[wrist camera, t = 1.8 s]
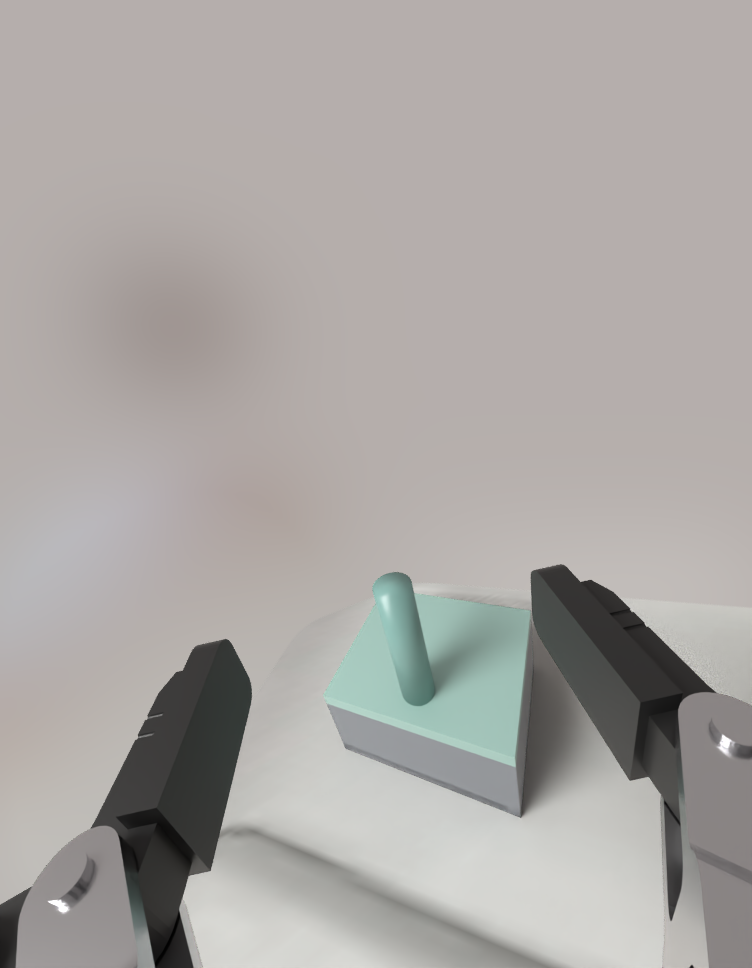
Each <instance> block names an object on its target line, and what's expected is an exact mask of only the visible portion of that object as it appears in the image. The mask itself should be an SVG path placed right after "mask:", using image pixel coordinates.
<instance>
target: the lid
mask: <svg viewBox="0 0 752 968" xmlns="http://www.w3.org/2000/svg"><path fill="white" fill-rule="evenodd" d="M373 594H374V597H375V601H376V604H375V606H374V607H373V609H372V611H371V613H370V614H369V616H368V618H367V620H366V621H365V623H364V625H363V627H362V628H361V630H360V632H359V634H358V635H357V637H356V639H355V641H354V642H353V644H352V646H351V648H350V649H349V651H348V653H347V655H346V656H345V658H344V660H343V662H342V663H341V665H340V667H339V669H338V670H337V672H336V674H335V676H334V677H333V679H332V681H331V683H330V684H329V686H328V688H327V690H326V691H325V693H324V695H323V696H324V698H325V701H326V703H327V704H330V705H333V706H336V707H339V708H342V709H345V710H347V711H350V712H353V713H356V714H359V715H362V716H365V717H368V718H371V719H374V720H377V721H380V722H383V723H386V724H389V725H392V726H395V727H398V728H401V729H404V730H407V731H410V732H413V733H415V734H418V735H421V736H424V737H427V738H430V739H433V740H436V741H439V742H442V743H445V744H448V745H451V746H454V747H457V748H460V749H463V750H466V751H469V752H472V753H475V754H478V755H481V756H483V757H486V758H489V759H492V760H495V761H498V762H501V763H504V764H507V765H510V766H513V767H516V761H517V751H518V742H519V732H520V722H521V712H522V703H523V693H524V683H525V674H526V664H527V654H528V644H529V635H530V625H531V611H530V610H523V609H517V608H510V607H503V606H497V605H490V604H483V603H476V602H470V601H463V600H456V599H450V598H443V597H436V596H429V595H423V594H416V593H414V591H413V587H412V582H411V579H410V578H409V577H408V576H407V575H406V574H403V573H399V572H394V573H388V574H385V575H383V576H381V577H380V578H378V579H377V580H376V581H375V583H374V585H373Z"/></svg>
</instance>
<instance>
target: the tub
mask: <svg viewBox="0 0 752 968" xmlns="http://www.w3.org/2000/svg"><path fill="white" fill-rule="evenodd" d="M533 668H534V664H533V645H532V626H531V625H530V635H529V644H528V654H527V664H526V674H525V683H524V693H523V703H522V712H521V722H520V732H519V742H518V751H517V761H516V767H513V766H510V765H507V764H504V763H501V762H498V761H495V760H492V759H489V758H486V757H483V756H481V755H478V754H475V753H472V752H469V751H466V750H463V749H460V748H457V747H454V746H451V745H448V744H445V743H442V742H439V741H436V740H433V739H430V738H427V737H424V736H421V735H418V734H415V733H413V732H410V731H407V730H404V729H401V728H398V727H395V726H392V725H389V724H386V723H383V722H380V721H377V720H374V719H371V718H368V717H365V716H362V715H359V714H356V713H353V712H350V711H347V710H345V709H342V708H339V707H336V706H333V705H330V704H327V705H328V708H329V710H330V712H331V715H332V717H333V720H334V722H335V724H336V727H337V729H338V731H339V734H340V736H341V739H342V741H343V743H344V746H345V748H346V749H349V750H351V751H354V752H356V753H359V754H361V755H364V756H366V757H369V758H371V759H374V760H376V761H379V762H381V763H384V764H386V765H389V766H392V767H394V768H397V769H399V770H402V771H404V772H407V773H409V774H412V775H414V776H417V777H419V778H422V779H424V780H427V781H429V782H432V783H435V784H437V785H440V786H442V787H445V788H447V789H450V790H452V791H455V792H457V793H460V794H462V795H465V796H467V797H470V798H472V799H475V800H477V801H480V802H483V803H485V804H488V805H490V806H493V807H495V808H498V809H500V810H503V811H505V812H508V813H510V814H513V815H515V816H518V817H520V818H521V810H522V798H523V786H524V775H525V763H526V751H527V739H528V727H529V715H530V703H531V692H532V680H533Z"/></svg>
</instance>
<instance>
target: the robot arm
mask: <svg viewBox="0 0 752 968" xmlns="http://www.w3.org/2000/svg"><path fill="white" fill-rule="evenodd" d="M531 596H532V616H533V621H534V624H535V627H536V630H537V633H538V635H539V637H540V639H541V640H542V642H543V644H544V645H545V647H546V648H547V650H548V652H549V653H550V655H551V656H552V658H553V660H554V661H555V663H556V664H557V666H558V667H559V669H560V671H561V672H562V674H563V675H564V677H565V679H566V680H567V682H568V683H569V685H570V687H571V688H572V690H573V691H574V693H575V694H576V696H577V698H578V699H579V701H580V702H581V704H582V706H583V707H584V709H585V710H586V712H587V714H588V715H589V717H590V718H591V720H592V721H593V723H594V725H595V726H596V728H597V729H598V731H599V733H600V734H601V736H602V737H603V739H604V741H605V742H606V744H607V745H608V747H609V748H610V750H611V752H612V753H613V755H614V756H615V758H616V760H617V761H618V763H619V764H620V766H621V768H622V769H623V771H624V772H625V774H626V775H627V777H628V779H629V780H630V781H631V780H635V779H640V778H644V777H649V778H650V779H651V781H652V782H653V784H654V785H655V787H656V788H657V790H658V791H659V792H660V794H661V799H660V809H661V837H662V865H663V893H664V946H663V964H662V968H752V706H751V705H749V704H747V703H745V702H743V701H741V700H738V699H736V698H733V697H730V696H727V695H723V694H718V693H716V692H715V691H714V690H712V689H711V688H710V687H709V686H708V685H707V684H706V683H705V682H704V681H703V680H702V679H701V678H700V677H699V676H698V675H697V674H696V673H695V672H694V671H693V670H692V669H691V668H690V667H689V666H688V665H687V664H686V663H685V662H684V661H682V660H681V659H680V658H679V657H678V656H677V655H676V654H675V653H674V652H673V651H672V650H671V649H670V648H669V647H668V646H667V645H666V644H665V643H664V642H663V641H662V640H661V639H660V638H659V637H658V636H657V635H656V634H655V633H654V632H653V631H652V630H651V629H650V628H649V627H646V626H645V624H644V622H643V621H642V620H641V619H640V618H639V617H638V616H637V615H636V614H635V613H634V612H631V611H630V608H629V607H628V606H627V605H626V604H625V603H624V602H623V601H622V600H621V599H620V598H619V597H618V596H617V595H616V594H614V592H612V591H610V590H608V589H607V588H605V587H603V586H601V585H599V584H598V583H596V582H594V581H592V580H588V581H584V582H580V581H579V580H578V579H577V578H576V577H575V576H574V575H573V574H572V572H571V571H570V570H569V569H568V568H567V567H566V566H564V565H561V564H560V565H556V566H552V567H547V568H542V569H538V570H534V571H532V572H531ZM251 699H252V689H251V683H250V679H249V677H248V675H247V673H246V671H245V669H244V667H243V665H242V663H241V661H240V659H239V657H238V655H237V654H236V651H235V649H234V647H233V645H232V644H231V642H230V641H229V640H227V639H224V640H220V641H216V642H211V643H207V644H202V645H198V646H196V647H195V648H194V649H193V650H192V652H191V654H190V656H189V658H188V660H187V663H186V665H185V667H184V670H183V671H179V672H176V673H175V674H174V676H173V677H172V678H171V679H170V680H169V682H168V683H167V684H166V685H165V686H164V687H163V689H162V690H161V691H160V692H159V694H158V696H157V698H156V700H155V702H154V704H153V706H152V708H151V710H150V712H149V714H148V719H147V720H145V722H144V724H143V726H142V728H141V730H140V732H139V734H138V739H137V740H135V742H134V744H133V746H132V748H131V750H130V752H129V754H128V756H127V758H126V760H125V762H124V764H123V766H122V768H121V770H120V772H119V774H118V776H117V778H116V780H115V782H114V784H113V786H112V788H111V790H110V792H109V794H108V796H107V798H106V800H105V802H104V804H103V806H102V808H101V810H100V812H99V814H98V816H97V818H96V820H95V822H94V824H93V825H92V827H91V829H89V830H87V831H85V832H83V833H82V834H80V835H78V836H77V837H76V838H74V839H73V840H71V841H70V842H69V843H68V844H67V845H66V846H65V847H63V848H62V849H61V850H60V851H59V852H58V853H57V854H56V855H55V856H54V857H53V858H52V860H51V861H50V862H49V863H48V865H46V867H45V868H44V870H43V871H42V872H41V874H40V875H39V876H38V878H37V880H36V881H35V883H34V884H33V886H32V887H30V888H28V889H27V890H25V891H23V892H22V893H20V894H18V895H16V896H15V897H13V898H11V899H10V900H8V901H6V902H4V903H3V904H1V905H0V968H203V966H202V962H201V959H200V955H199V951H198V947H197V944H196V940H195V936H194V933H193V929H192V925H191V922H190V918H189V914H188V910H187V907H186V904H185V902H184V900H183V899H182V897H183V894H184V890H185V887H186V883H187V879H188V876H190V875H194V874H199V873H203V872H208V871H211V867H212V863H213V859H214V855H215V850H216V846H217V842H218V838H219V834H220V830H221V826H222V821H223V817H224V813H225V809H226V805H227V801H228V797H229V792H230V788H231V784H232V780H233V776H234V772H235V768H236V763H237V759H238V755H239V751H240V747H241V743H242V739H243V734H244V730H245V726H246V722H247V718H248V714H249V709H250V705H251Z"/></svg>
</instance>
